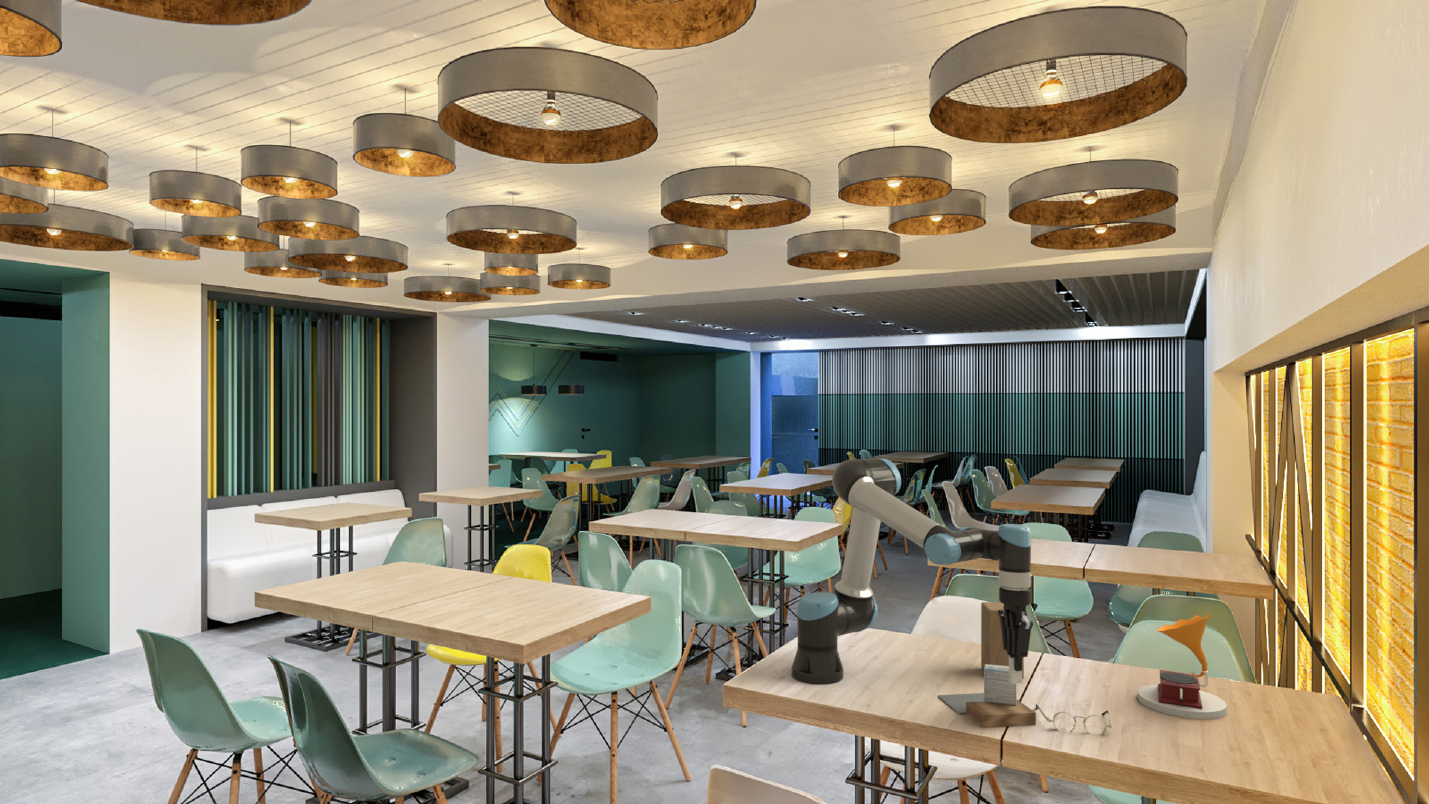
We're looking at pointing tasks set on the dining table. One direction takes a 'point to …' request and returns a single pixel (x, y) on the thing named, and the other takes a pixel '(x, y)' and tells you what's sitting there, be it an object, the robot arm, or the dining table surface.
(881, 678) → the dining table surface
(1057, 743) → the dining table surface
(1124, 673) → the dining table surface
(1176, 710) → the gramophone
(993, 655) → the wooden block
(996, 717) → the brown wooden flat block
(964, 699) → the mat
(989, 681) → the medicine box
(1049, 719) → the round eyeglasses
